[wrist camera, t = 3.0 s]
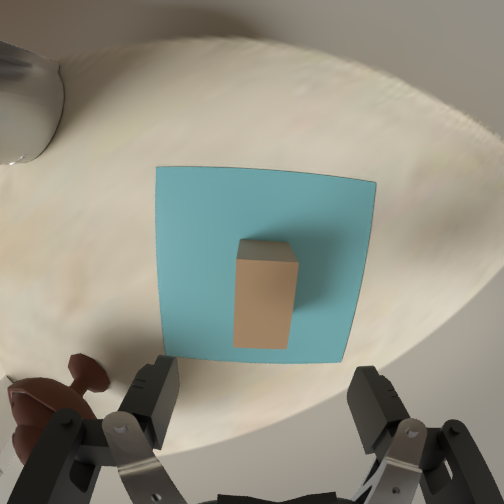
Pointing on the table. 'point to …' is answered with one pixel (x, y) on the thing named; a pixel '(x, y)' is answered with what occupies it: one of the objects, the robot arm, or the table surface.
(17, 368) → the table surface
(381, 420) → the robot arm
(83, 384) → the ice cream bowl
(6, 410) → the milk carton
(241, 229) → the teal square mat
